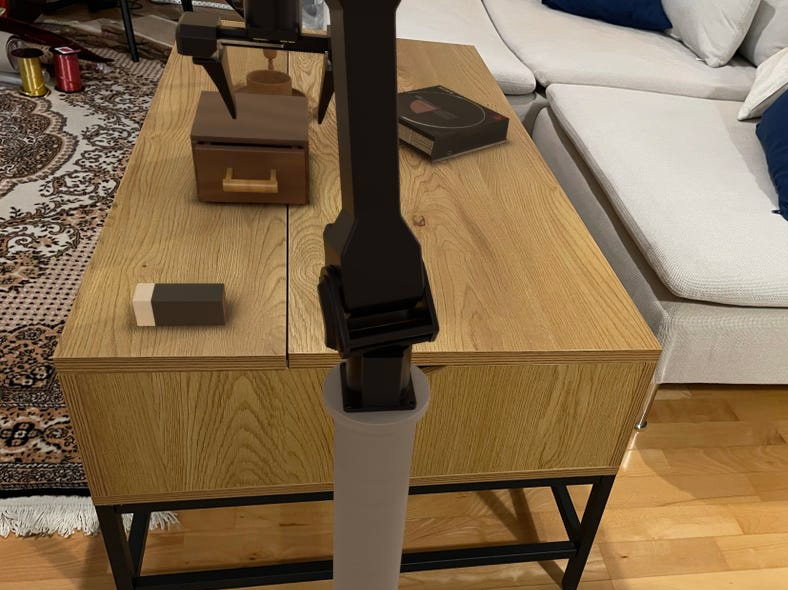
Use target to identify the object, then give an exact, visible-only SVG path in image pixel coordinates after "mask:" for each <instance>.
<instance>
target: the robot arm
mask: <svg viewBox="0 0 788 590" xmlns="http://www.w3.org/2000/svg"><path fill="white" fill-rule="evenodd" d="M323 1H324V4H325V5H326V6H327V9H328V13H329V24H326V34H321V33H310V32H303V1H302V0H232V5H233V7H234V8H235V10H243V17H244V18H243V20H244V21H243V22H244V27H243V26H231V25H222V19H221V14H220V13H209V12H198V11H188V10H187V11H184V12H183V14H182V15H181V16H180V17H179V19H178V22H177V24H176V26H175V29H174V31H175V32H174V33H175V34H174V37H175V45H176V53H177V54H178V55H180V56H183V57H191V62H192V64H193V65H196V66H201V67H203V69H204V71H205V72H206V73H207V75H208V76H209V78H210V79H211V81H212V82H213V85H214V86H215V87H216V89H217V92H219V93H220V94H221V97H222V99H223V101H224V103H225V105H226V107H227V109H228V111H229V113H230V115H231V117H232V119H237V108H236V99H235V94H234V89H233V87H234V84H233V79H232V74H231V70H230V64H229V57H228V48H227V47H235V48H245V49H246V48H247V49H256V50H257V49H258V50H259V49H260V50H263V49H269V50H277V51H282V52H296V53H304V54H307V53H308V54H319V55H323V57H322V68H321V70H322V71H321V77H320V84H319V94H318V102H317V106H318V114H317V125H320V126H321V125H322V124H323V121H324V119H325V116H326V113H327V111H328V108H329V106H330V103H331V100H332V98H333V96H334V105H335V106H334V107H335V122H336V123H335V124H336V135H337V136H336V137H337V150H338V151H337V153H338V167H339V168H338V169H339V183H340V184H339V185H340V198H341V199H340V200H341V209H340V211H339V213H338V215H337V216H336V218H335V220H334V222H329V223H326V224H325V227H324V229H323V232H322V242H323V249H324V250H323V251H324V266H322V267H321V268H320V272H319V276H318V283H317V285H316V290H317V296H318V301H319V302H318V303H319V307H320V313H321V317H322V318H321V319H322V324H323V334H324V336H323V337H324V343H323V344H324V345H325V347H326V348H327V349H330V350H333V351H335V352H337V353H338V356H339V357H340V359H341V361H343V360H345V359H346V362H342V363H340V362H339V363H340V379H341V391H342V403H343V411H344V412H346V413H359V412H382V411H405V410H414V409H416V406H417V401H416V396H415V391H414V386H413V381H412V376H411V371H410V367H411V363H412V356H413V346H414V345H418V344H419V345H420V344H424V343H434V342H436V340H437V337H438V335H439V334H440V333H439V332H440V324H439V318H438V314H437V311H436V306H435V302H434V297H433V293H432V289H431V283H430V279H429V274H428V271H427V267H426V263H425V261H424V259H423V251H422V244H421V243H420V241H419V239H418V238H417V237H416V235H415V233H414V232H413V230H412V228H411V227H410V226H409V224H408V223H407V221H406V219H405V217H404V216H403V215H402V207H401V206H402V205H401V172H400V171H401V170H400V169H401V168H400V163H401V162H400V144H399V123H398V93H399V90H398V89H399V87H398V84H399V83H398V50H397V49H398V46H397V10H398V8H399V6H400V4H401V3H402V1H403V0H323ZM410 404H412V405H410ZM347 407H350V408H347Z"/></svg>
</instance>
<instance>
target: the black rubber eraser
mask: <svg viewBox="0 0 788 590" xmlns="http://www.w3.org/2000/svg"><path fill="white" fill-rule="evenodd" d="M132 306H133V311H134V316H135V320H136V324H137V327H168V326H169V327H170V326H171V327H173V326H175V327H177V326H184V327H185V326H225V325H226V321H227V310H228V304H227V294H226V286H225V283H224V282H222V283H221V282H220V283H218V282H214V283H213V282H211V283H210V282H206V283H205V282H201V283H200V282H199V283H198V282H191V283H190V282H189V283H187V282H186V283H185V282H183V283H181V282H180V283H179V282H175V283H174V282H173V283H172V282H171V283H169V282H163V283H161V282H158V283H157V282H155V283H153V282H152V283H151V282H149V283H148V282H146V283H145V282H144V283H142V282H141V283H140V282H139V283H137V284H136V287H135V290H134V294H133V297H132Z"/></svg>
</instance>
